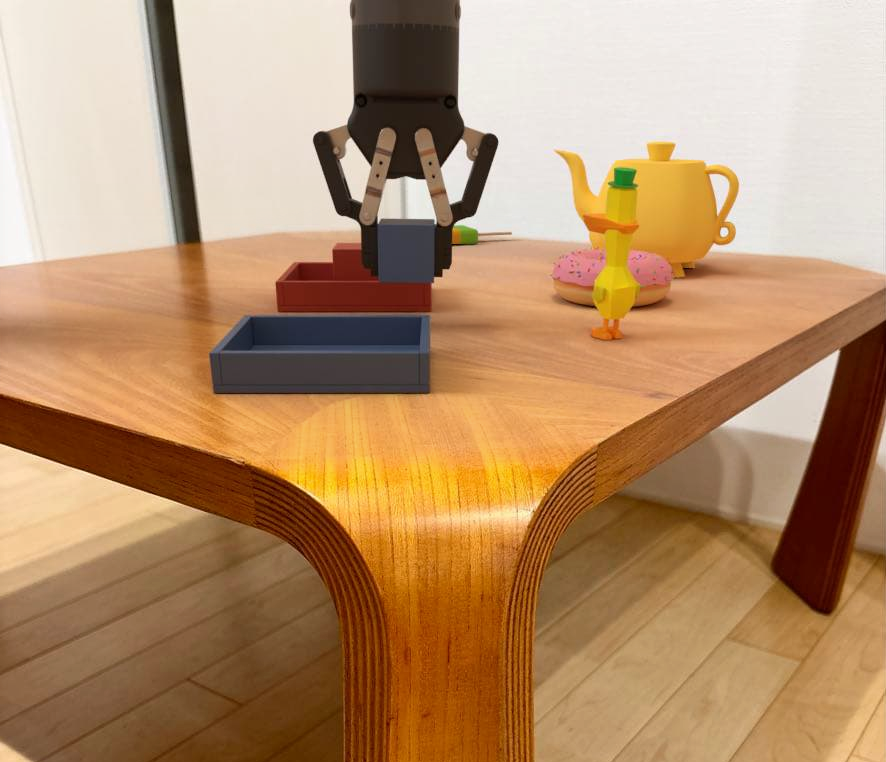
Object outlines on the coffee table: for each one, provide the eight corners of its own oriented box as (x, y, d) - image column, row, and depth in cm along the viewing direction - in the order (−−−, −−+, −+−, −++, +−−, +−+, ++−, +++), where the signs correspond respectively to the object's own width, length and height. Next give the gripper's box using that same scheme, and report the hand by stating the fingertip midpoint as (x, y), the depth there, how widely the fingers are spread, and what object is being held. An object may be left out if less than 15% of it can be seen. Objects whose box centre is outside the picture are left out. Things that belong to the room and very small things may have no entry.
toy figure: (561, 329, 72) (570, 165, 67) (598, 325, 73) (610, 164, 68) (612, 347, 66) (627, 170, 61) (651, 342, 68) (668, 168, 63)
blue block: (378, 282, 69) (377, 224, 67) (381, 273, 73) (380, 218, 71) (434, 283, 69) (434, 225, 67) (434, 274, 73) (434, 219, 71)
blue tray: (213, 393, 56) (208, 352, 55) (247, 349, 66) (244, 314, 65) (429, 393, 56) (429, 352, 55) (430, 349, 66) (430, 314, 65)
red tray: (277, 311, 78) (275, 281, 77) (295, 288, 88) (293, 261, 87) (431, 311, 78) (431, 281, 77) (431, 288, 88) (431, 261, 87)
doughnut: (566, 285, 90) (569, 241, 88) (679, 293, 86) (684, 247, 85) (536, 305, 81) (538, 256, 79) (661, 314, 77) (666, 263, 75)
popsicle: (397, 242, 120) (397, 227, 119) (502, 237, 124) (503, 223, 123) (410, 247, 115) (410, 232, 114) (519, 242, 120) (520, 227, 119)
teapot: (720, 284, 90) (738, 144, 85) (529, 271, 98) (534, 142, 92) (739, 265, 102) (755, 140, 96) (566, 255, 109) (573, 138, 104)
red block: (334, 298, 81) (332, 249, 79) (339, 289, 85) (336, 242, 83) (381, 298, 81) (380, 249, 79) (384, 289, 85) (382, 242, 83)
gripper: (504, 29, 67) (495, 269, 74) (309, 25, 67) (320, 267, 74) (512, 19, 60) (501, 285, 68) (295, 16, 60) (308, 282, 67)
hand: (406, 274), depth 71 cm, fingers closed on blue block, 4 cm apart
